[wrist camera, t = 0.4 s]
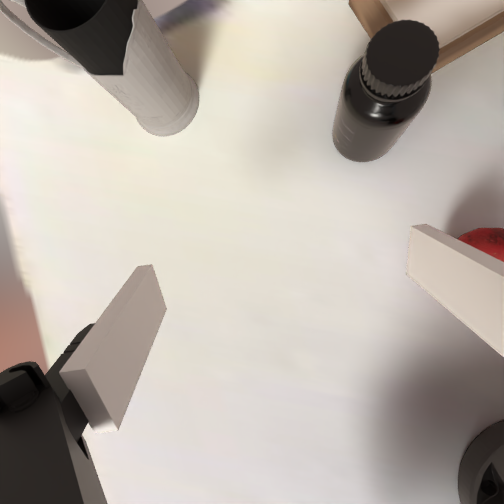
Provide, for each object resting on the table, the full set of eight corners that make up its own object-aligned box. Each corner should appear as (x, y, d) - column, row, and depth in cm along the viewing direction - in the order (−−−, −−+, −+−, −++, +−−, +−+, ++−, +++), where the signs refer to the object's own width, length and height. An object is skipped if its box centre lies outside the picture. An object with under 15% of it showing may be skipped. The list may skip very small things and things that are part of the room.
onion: (432, 232, 29) (483, 221, 21) (493, 231, 28) (571, 219, 20) (433, 287, 29) (485, 297, 21) (495, 288, 28) (574, 299, 20)
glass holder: (190, 141, 34) (107, 46, 19) (91, 124, 36) (-53, 29, 21) (206, 72, 34) (135, -77, 19) (105, 60, 36) (-28, -81, 21)
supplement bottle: (383, 94, 30) (438, -14, 18) (404, 151, 30) (476, 76, 18) (322, 117, 31) (338, 29, 19) (341, 172, 31) (370, 116, 19)
